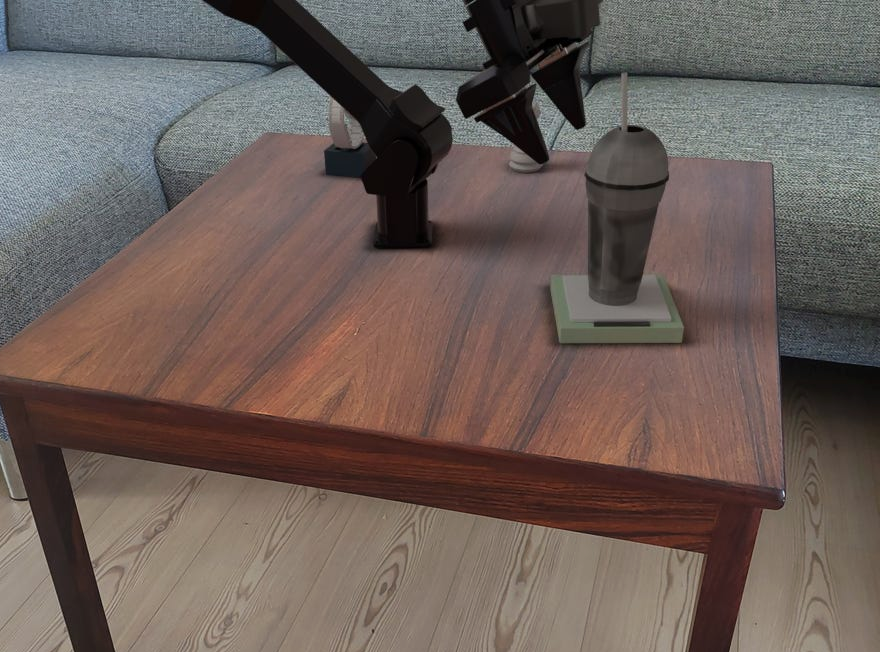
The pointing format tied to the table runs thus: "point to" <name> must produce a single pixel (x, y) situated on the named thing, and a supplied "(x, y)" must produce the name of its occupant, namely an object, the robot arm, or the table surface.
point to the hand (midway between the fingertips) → (563, 144)
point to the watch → (346, 145)
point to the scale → (615, 313)
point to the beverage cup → (622, 207)
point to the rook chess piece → (522, 160)
